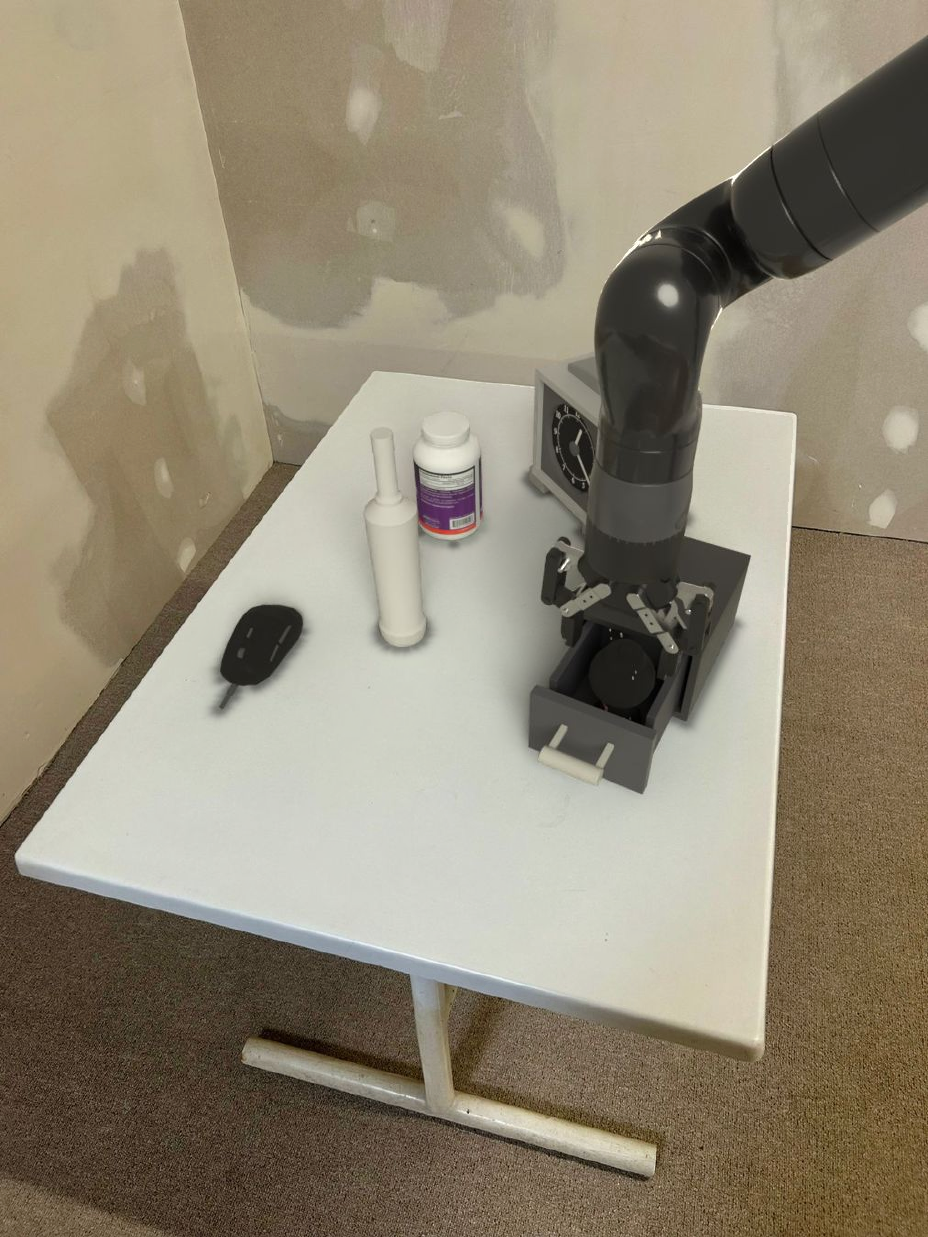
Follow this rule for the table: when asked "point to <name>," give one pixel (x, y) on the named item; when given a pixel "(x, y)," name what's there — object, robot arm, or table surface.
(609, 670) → the gumball machine
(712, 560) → the grey drawer cabinet
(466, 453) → the pill bottle
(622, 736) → the open grey drawer
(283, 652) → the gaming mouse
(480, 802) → the table surface
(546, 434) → the alarm clock
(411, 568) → the bottle
